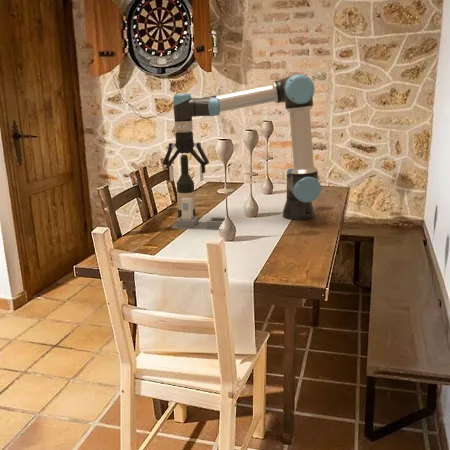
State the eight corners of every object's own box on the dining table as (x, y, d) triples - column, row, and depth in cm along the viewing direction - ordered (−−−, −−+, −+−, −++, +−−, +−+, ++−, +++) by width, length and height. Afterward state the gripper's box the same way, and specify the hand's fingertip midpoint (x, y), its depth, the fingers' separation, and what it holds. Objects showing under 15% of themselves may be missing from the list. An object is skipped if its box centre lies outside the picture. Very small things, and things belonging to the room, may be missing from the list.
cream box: (193, 224, 223) (192, 197, 220) (190, 226, 218) (189, 200, 215) (184, 223, 224) (183, 197, 220) (181, 226, 219) (180, 200, 216)
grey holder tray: (234, 225, 223) (234, 216, 222) (228, 232, 212) (228, 223, 211) (179, 223, 228) (178, 214, 227) (170, 230, 217) (170, 221, 216)
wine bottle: (198, 216, 240) (196, 154, 232) (186, 220, 234) (183, 156, 226) (187, 214, 245) (184, 153, 238) (174, 217, 240) (171, 155, 232)
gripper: (153, 132, 210) (156, 182, 215) (210, 131, 204) (212, 182, 210) (159, 131, 217) (162, 179, 222) (214, 130, 211) (216, 179, 217)
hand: (186, 180), depth 216 cm, fingers open, 13 cm apart
